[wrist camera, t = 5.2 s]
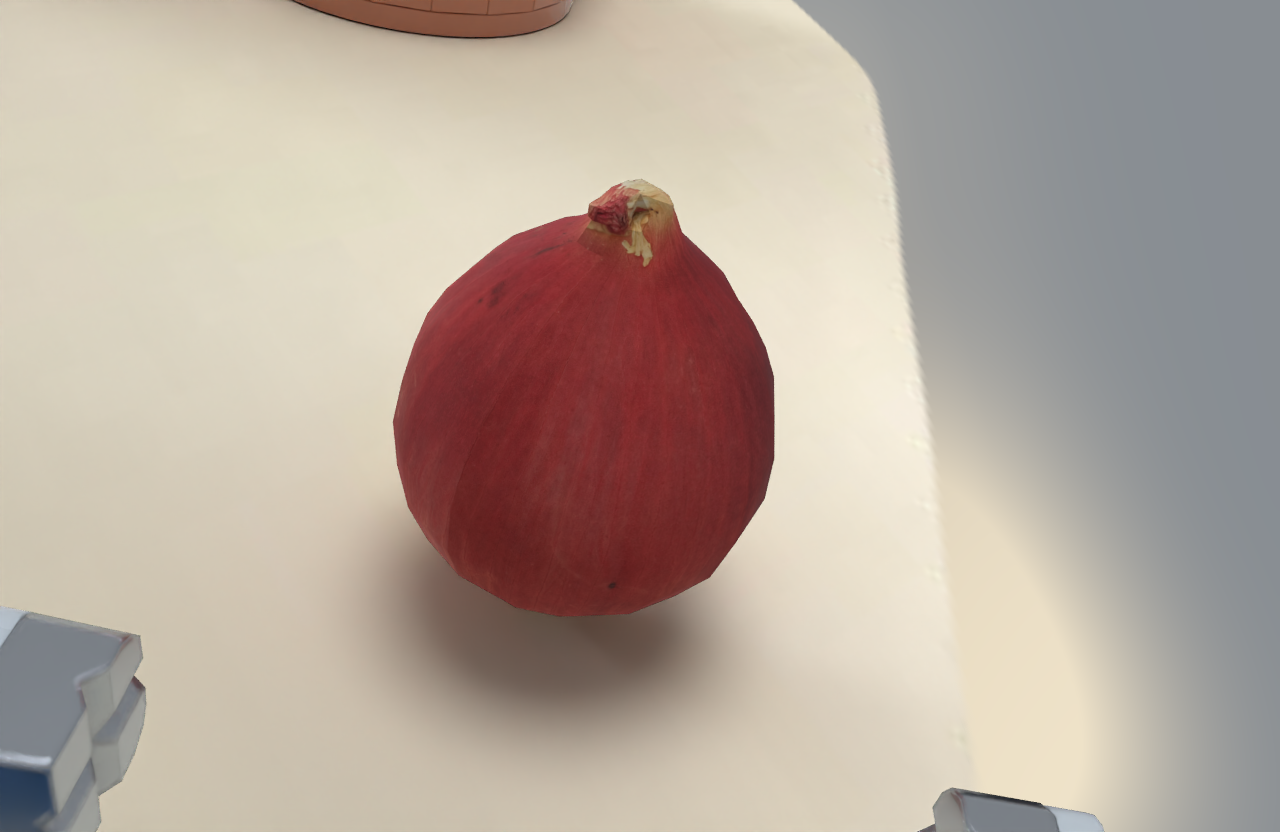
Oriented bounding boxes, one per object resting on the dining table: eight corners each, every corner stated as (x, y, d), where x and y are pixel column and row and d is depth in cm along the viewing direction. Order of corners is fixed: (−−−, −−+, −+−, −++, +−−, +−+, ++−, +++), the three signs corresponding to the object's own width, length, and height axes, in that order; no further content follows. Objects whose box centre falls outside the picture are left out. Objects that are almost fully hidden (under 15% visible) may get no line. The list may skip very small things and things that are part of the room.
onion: (421, 451, 22) (472, 50, 17) (713, 513, 23) (840, 136, 18) (336, 689, 18) (373, 230, 13) (705, 761, 18) (875, 342, 13)
